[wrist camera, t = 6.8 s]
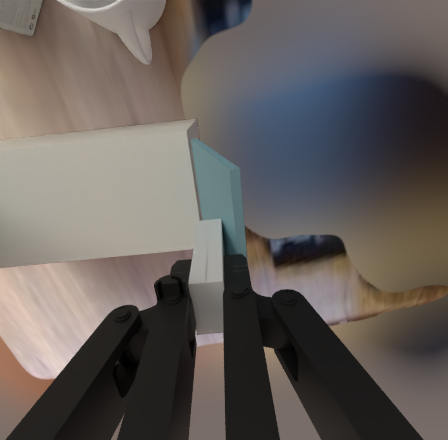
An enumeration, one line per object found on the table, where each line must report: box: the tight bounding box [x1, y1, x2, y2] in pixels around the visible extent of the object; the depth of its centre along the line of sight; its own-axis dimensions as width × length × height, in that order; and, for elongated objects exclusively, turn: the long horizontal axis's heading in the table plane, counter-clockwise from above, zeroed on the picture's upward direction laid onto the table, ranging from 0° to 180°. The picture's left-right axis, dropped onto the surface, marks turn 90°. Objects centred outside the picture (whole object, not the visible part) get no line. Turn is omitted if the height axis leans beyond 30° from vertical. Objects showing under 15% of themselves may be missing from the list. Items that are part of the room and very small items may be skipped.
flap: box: [191, 138, 248, 264], centre depth 21 cm, size 12×10×1 cm
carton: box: [0, 118, 202, 268], centre depth 32 cm, size 11×24×12 cm, turn 96°
